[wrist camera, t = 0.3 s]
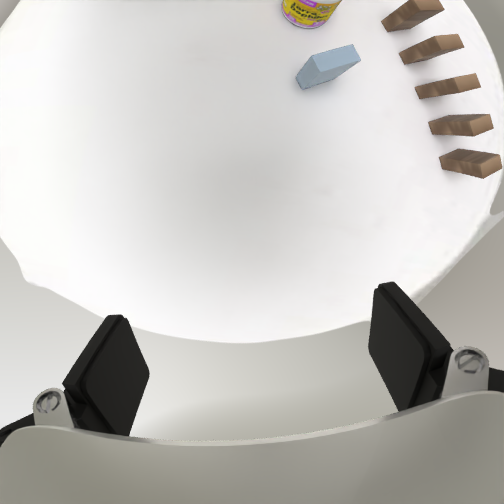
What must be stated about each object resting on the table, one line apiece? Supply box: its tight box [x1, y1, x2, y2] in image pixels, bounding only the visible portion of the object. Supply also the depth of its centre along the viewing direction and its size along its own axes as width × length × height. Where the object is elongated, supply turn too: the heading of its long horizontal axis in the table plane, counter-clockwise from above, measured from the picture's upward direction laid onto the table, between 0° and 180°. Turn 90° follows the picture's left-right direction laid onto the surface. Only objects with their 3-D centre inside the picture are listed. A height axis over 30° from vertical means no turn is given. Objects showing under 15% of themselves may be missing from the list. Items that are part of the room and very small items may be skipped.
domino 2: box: [381, 0, 444, 32], centre depth 23 cm, size 2×5×10 cm, turn 115°
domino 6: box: [439, 149, 502, 179], centre depth 31 cm, size 2×5×10 cm, turn 115°
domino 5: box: [428, 114, 493, 136], centre depth 29 cm, size 2×5×10 cm, turn 115°
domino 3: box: [399, 34, 464, 65], centre depth 25 cm, size 2×5×10 cm, turn 116°
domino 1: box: [296, 44, 361, 90], centre depth 27 cm, size 2×5×10 cm, turn 116°
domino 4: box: [415, 73, 481, 99], centre depth 27 cm, size 2×5×10 cm, turn 115°
